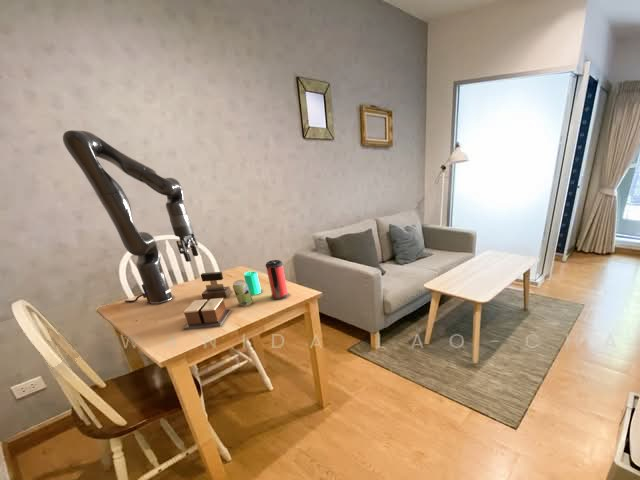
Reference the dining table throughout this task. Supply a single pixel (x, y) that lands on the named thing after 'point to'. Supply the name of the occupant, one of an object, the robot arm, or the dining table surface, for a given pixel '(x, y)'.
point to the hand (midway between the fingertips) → (192, 258)
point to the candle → (252, 282)
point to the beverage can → (242, 292)
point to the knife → (213, 280)
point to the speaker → (277, 279)
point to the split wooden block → (206, 313)
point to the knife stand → (216, 293)
